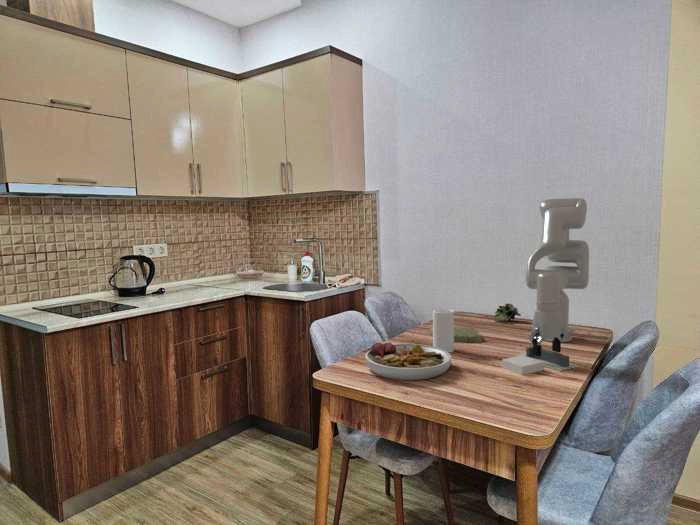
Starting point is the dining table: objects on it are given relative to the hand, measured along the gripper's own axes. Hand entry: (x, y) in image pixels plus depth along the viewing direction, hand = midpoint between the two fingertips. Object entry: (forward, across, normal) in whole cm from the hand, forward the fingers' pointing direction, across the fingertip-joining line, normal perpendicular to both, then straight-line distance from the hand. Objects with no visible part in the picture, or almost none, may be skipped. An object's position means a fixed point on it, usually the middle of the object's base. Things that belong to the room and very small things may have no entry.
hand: (546, 353), depth 166 cm
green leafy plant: (+3, -35, -55) cm, 66 cm away
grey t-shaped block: (+2, 0, +1) cm, 3 cm away
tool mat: (+3, 0, 0) cm, 3 cm away
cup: (+3, +23, -30) cm, 38 cm away
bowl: (+4, +47, -19) cm, 51 cm away
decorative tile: (+4, +6, -44) cm, 45 cm away
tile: (+2, +9, +2) cm, 9 cm away
